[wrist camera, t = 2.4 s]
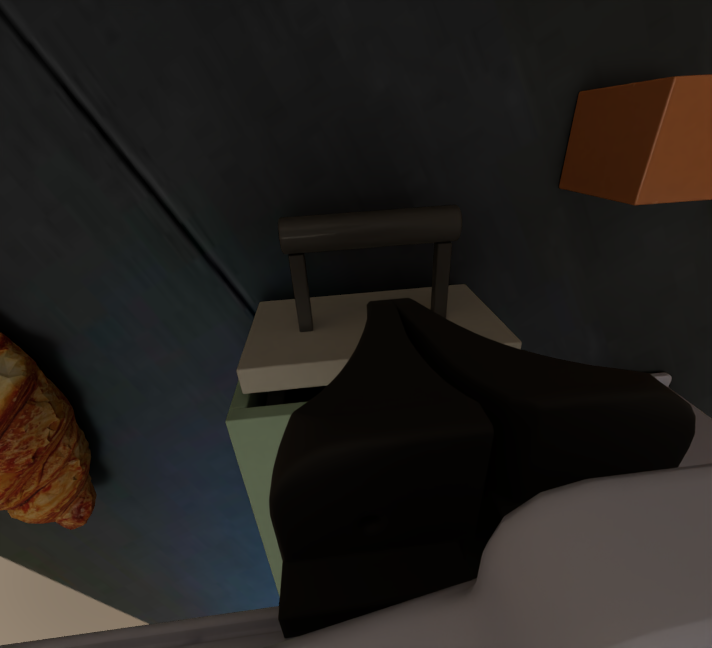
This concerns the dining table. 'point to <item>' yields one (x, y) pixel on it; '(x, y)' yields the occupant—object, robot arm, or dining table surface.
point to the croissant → (40, 447)
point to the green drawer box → (259, 458)
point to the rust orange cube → (643, 142)
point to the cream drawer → (350, 300)
